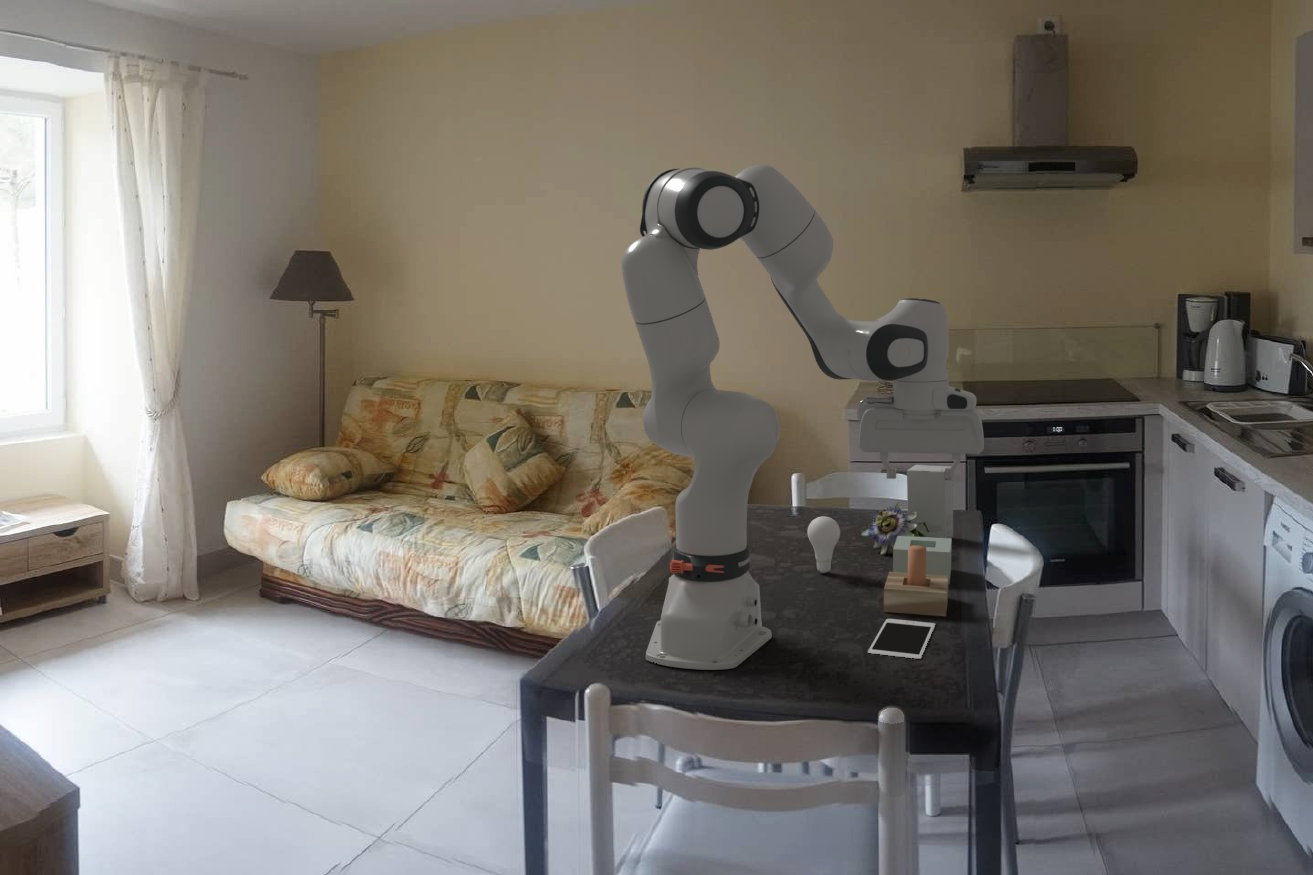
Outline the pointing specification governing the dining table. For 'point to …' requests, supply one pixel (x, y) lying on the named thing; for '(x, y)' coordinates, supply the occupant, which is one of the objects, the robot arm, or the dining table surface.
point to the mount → (916, 595)
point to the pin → (917, 565)
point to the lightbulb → (823, 540)
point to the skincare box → (931, 500)
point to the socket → (935, 554)
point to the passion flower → (892, 527)
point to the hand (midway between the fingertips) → (920, 478)
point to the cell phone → (902, 638)
